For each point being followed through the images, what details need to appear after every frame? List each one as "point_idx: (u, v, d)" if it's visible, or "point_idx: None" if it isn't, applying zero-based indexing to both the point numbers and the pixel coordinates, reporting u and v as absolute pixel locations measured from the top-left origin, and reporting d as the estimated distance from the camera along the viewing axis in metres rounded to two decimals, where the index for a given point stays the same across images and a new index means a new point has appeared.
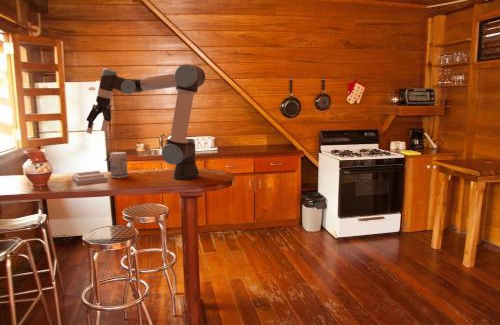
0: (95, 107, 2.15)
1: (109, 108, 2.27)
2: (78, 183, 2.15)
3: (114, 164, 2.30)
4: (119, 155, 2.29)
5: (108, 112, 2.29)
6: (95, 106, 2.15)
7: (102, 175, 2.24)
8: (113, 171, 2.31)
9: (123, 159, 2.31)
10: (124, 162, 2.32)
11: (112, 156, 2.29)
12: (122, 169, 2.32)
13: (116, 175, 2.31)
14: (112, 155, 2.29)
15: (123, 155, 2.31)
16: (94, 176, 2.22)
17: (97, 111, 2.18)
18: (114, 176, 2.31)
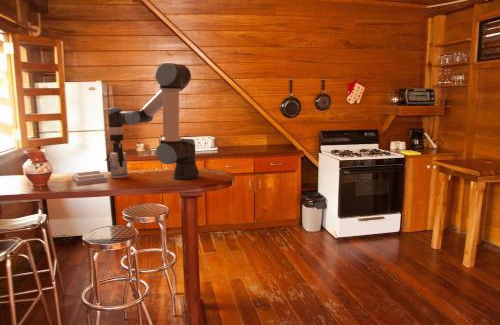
0: (120, 146, 2.27)
1: None
2: (78, 183, 2.15)
3: (113, 164, 2.30)
4: None
5: None
6: (120, 145, 2.27)
7: (102, 175, 2.24)
8: (113, 171, 2.31)
9: None
10: (124, 162, 2.32)
11: (112, 156, 2.29)
12: None
13: (116, 175, 2.31)
14: (112, 155, 2.29)
15: (123, 155, 2.31)
16: (94, 176, 2.22)
17: None
18: (114, 176, 2.31)
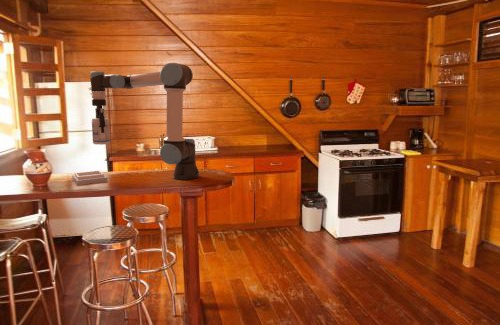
0: (102, 111, 2.20)
1: None
2: (78, 183, 2.15)
3: (95, 129, 2.23)
4: None
5: None
6: (102, 110, 2.20)
7: (102, 175, 2.24)
8: (95, 137, 2.24)
9: (105, 125, 2.24)
10: (106, 128, 2.25)
11: (94, 121, 2.22)
12: None
13: (98, 141, 2.24)
14: (94, 120, 2.22)
15: (105, 121, 2.24)
16: (94, 176, 2.22)
17: None
18: (96, 142, 2.24)
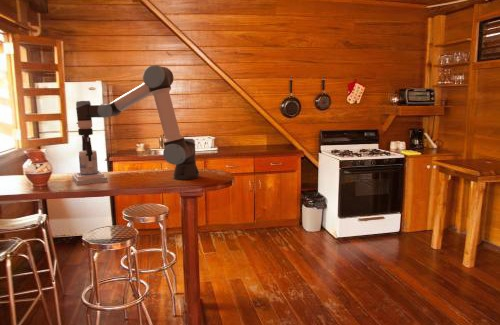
0: (89, 139, 2.18)
1: None
2: (78, 183, 2.15)
3: (82, 163, 2.21)
4: None
5: None
6: (88, 138, 2.18)
7: (102, 175, 2.24)
8: (82, 170, 2.22)
9: (92, 158, 2.22)
10: (94, 161, 2.23)
11: (81, 154, 2.20)
12: (91, 168, 2.22)
13: (85, 174, 2.21)
14: (81, 153, 2.20)
15: None
16: (94, 176, 2.22)
17: None
18: (83, 175, 2.22)
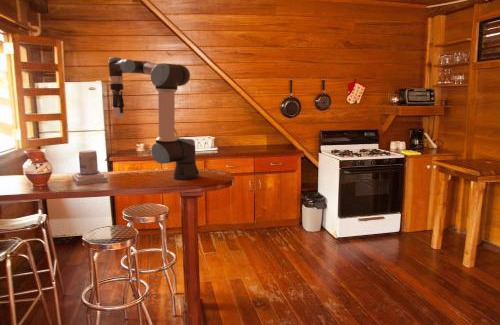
0: (120, 93, 2.36)
1: None
2: (78, 183, 2.15)
3: (82, 163, 2.21)
4: (88, 153, 2.20)
5: None
6: (120, 92, 2.35)
7: (102, 175, 2.24)
8: (82, 170, 2.22)
9: (92, 158, 2.22)
10: (94, 161, 2.23)
11: (81, 154, 2.20)
12: (91, 168, 2.22)
13: (85, 174, 2.21)
14: (81, 153, 2.20)
15: (92, 153, 2.22)
16: (94, 176, 2.22)
17: None
18: (83, 175, 2.22)
